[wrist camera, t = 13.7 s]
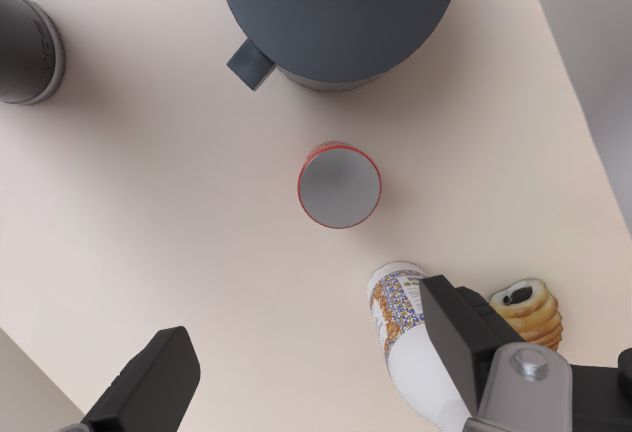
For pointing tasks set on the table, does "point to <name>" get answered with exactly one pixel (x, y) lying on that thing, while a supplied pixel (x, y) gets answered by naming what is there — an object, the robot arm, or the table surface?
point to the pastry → (530, 312)
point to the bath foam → (413, 347)
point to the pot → (259, 67)
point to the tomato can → (338, 185)
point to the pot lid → (337, 34)
